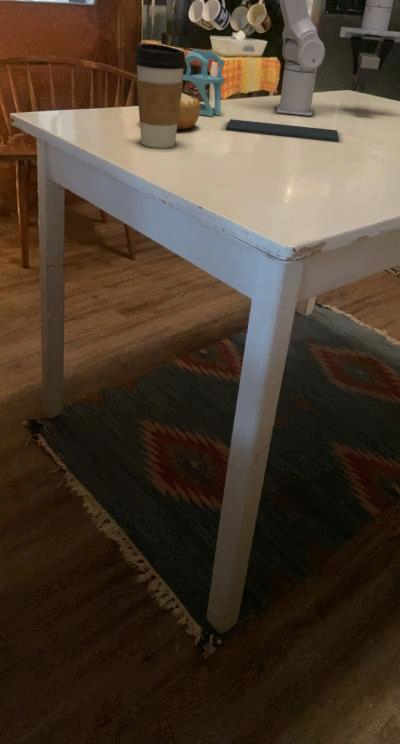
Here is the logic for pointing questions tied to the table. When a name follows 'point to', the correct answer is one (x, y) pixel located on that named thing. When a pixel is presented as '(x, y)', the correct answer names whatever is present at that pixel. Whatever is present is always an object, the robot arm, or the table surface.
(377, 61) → the grey rectangular block
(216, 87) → the chair
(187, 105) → the pastry
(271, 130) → the desk mat
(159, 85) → the coffee cup
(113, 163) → the table surface
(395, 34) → the robot arm
